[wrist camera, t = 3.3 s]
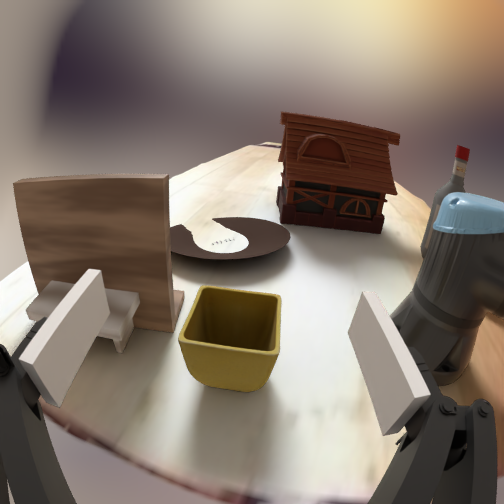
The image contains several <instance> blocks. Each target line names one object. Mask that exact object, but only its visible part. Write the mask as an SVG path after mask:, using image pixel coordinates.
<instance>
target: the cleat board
mask: <svg viewBox="0 0 504 504" xmlns="http://www.w3.org/2000/svg"><path fill="white" fill-rule="evenodd" d="M13 186H14V194H15V200H16V207H17V212H18V217H19V223H20V227H21V232H22V237H23V241H24V246H25V249H26V254H27V257H28V261H29V265H30V268H31V272H32V275H33V278H34V281H35V284H36V288H37V291H38V294H39V295H38V296H37V297H36V298H35V299H34V301H33V302H32V303H31V304H30V305H29V306H28V308H27V309H26V312H27V315H28V317H29V319H30V320H34V321H37V322H38V321H39V320H41V319H42V318H43V317H47V318H48V317H49V316H50V315H51V314H52V312H53V311H54V310H55V308H56V307H57V306H58V305H59V303H60V302H61V301H62V300H63V299H64V297H65V296H66V295H67V294H68V292H69V291H70V290H71V289H72V288H73V286H74V285H75V284H76V283H77V282H78V281H79V279H80V278H81V277H82V276H83V275H84V274H85V273H86V271H87V270H88V269H95V270H101V273H102V278H103V283H104V288H105V293H106V297H107V302H108V306H109V310H110V314H109V316H108V318H107V319H106V321H105V323H104V324H103V326H102V328H101V330H100V331H99V333H98V335H97V336H99V337H104V338H109V339H113V342H114V345H115V348H116V351H117V352H118V353H123V351H124V349H125V346H126V344H127V342H128V340H129V338H130V335H131V333H132V331H133V329H134V327H135V328H142V329H149V330H156V331H164V332H172V333H173V332H174V329H175V326H176V322H177V319H178V316H179V313H180V310H181V307H182V304H183V300H184V291H179V290H173V279H172V264H171V246H170V220H169V175H168V174H98V175H97V174H96V175H73V176H72V175H71V176H54V177H40V178H29V179H21V180H19V181H17V182H15V183H13Z"/></svg>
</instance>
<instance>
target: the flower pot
mask: <svg viewBox="0 0 504 504" xmlns="http://www.w3.org/2000/svg"><path fill="white" fill-rule="evenodd" d="M280 324H281V297H280V295H276V294H270V293H261V292H252V291H244V290H236V289H229V288H222V287H215V286H201V287H200V288H199V290H198V293H197V295H196V298H195V300H194V303H193V306H192V308H191V310H190V313H189V315H188V317H187V319H186V321H185V323H184V325H183V328H182V330H181V332H180V334H179V337H178V341H179V344H180V347H181V351H182V354H183V357H184V360H185V363H186V366H187V368H188V371H189V372H190V374H191V375H192V376H193V377H194V378H195V379H196V380H197V381H199V382H201V383H202V384H205V385H207V386H210V387H216V388H222V389H229V390H235V391H242V392H251V391H255V390H258V389H260V388H261V387H262V386H263V385H264V384H265V383H266V382H267V380H268V379H269V376H270V374H271V372H272V369H273V367H274V365H275V362H276V360H277V357H278V355H279V352H280Z"/></svg>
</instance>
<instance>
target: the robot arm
mask: <svg viewBox="0 0 504 504" xmlns="http://www.w3.org/2000/svg"><path fill="white" fill-rule="evenodd" d="M487 312H490V313H492V314H494V315H496V316H498V317H499V318H501V319H503V320H504V203H503V202H500V201H497V200H494V199H491V198H487V197H483V196H479V195H474V194H469V193H462V192H454V193H450V194H448V195H447V196H446V197H445V198H444V199H443V201H442V203H441V206H440V210H439V213H438V216H437V219H436V221H435V222H434V224H433V232H432V236H431V239H430V242H429V245H428V248H427V252H426V255H425V257H424V260H423V263H422V266H421V269H420V271H419V274H418V276H417V279H416V282H415V284H414V287H413V289H412V291H411V292H410V294H409V295H408V296H407V297H406V298H405V299H404V301H403V302H402V303H401V304H400V305H399V306H398V307H397V308H396V310H395V311H394V312H393V313H392V314H391V315H390V316H389V314H388V312H387V311H386V309H385V307H384V306H383V304H382V302H381V300H380V299H379V297H378V295H377V294H376V292H362V294H361V297H360V300H359V303H358V306H357V309H356V312H355V314H354V317H353V320H352V323H351V325H350V328H349V331H348V335H349V338H350V340H351V343H352V346H353V348H354V351H355V354H356V357H357V359H358V362H359V365H360V368H361V371H362V374H363V376H364V379H365V382H366V385H367V388H368V391H369V394H370V397H371V400H372V403H373V406H374V409H375V412H376V416H377V419H378V422H379V425H380V428H381V432H382V435H383V436H385V435H390V434H395V433H398V432H399V431H400V430H401V429H402V428H403V427H404V426H405V427H406V430H407V432H406V433H405V434H404V435H403V436H402V437H401V438H400V439H399V440H398V441H397V443H396V445H398V444H399V443H400V442H401V443H400V445H399V447H398V449H397V451H396V453H395V455H394V457H393V459H392V461H391V463H390V465H389V467H388V469H387V471H386V473H385V475H384V476H383V478H382V480H381V482H380V484H379V485H378V487H377V489H376V491H375V492H374V494H373V496H372V497H371V499H370V500H369V502H368V504H430V503H431V500H432V498H433V500H432V504H496V493H497V492H496V491H497V441H496V428H495V418H494V411H493V407H492V406H491V404H490V403H489V402H488V401H486V400H484V399H477V400H476V401H474V403H473V404H472V405H471V406H459V405H457V403H456V402H455V401H454V400H453V399H452V398H450V397H447V396H443V395H442V394H441V392H440V390H439V388H438V386H443V385H448V384H450V383H452V382H454V381H456V380H457V379H458V378H459V377H460V376H461V374H462V373H463V371H464V370H465V369H466V367H467V366H468V364H469V361H470V359H471V355H472V352H473V348H474V345H475V341H476V337H477V333H478V329H479V326H480V324H481V322H482V321H483V319H484V317H485V315H486V314H487ZM109 314H110V310H109V306H108V302H107V297H106V293H105V288H104V283H103V278H102V273H101V270H95V269H88V270H87V271H86V273H85V274H84V275H83V276H82V277H81V278H80V279H79V281H78V282H77V283H76V284H75V285H74V286H73V288H72V289H71V290H70V291H69V292H68V294H67V295H66V296H65V297H64V299H63V300H62V301H61V302H60V303H59V305H58V306H57V307H56V308H55V310H54V311H53V312H52V314H51V315H50V316H49V317H48V318H47V317H43V318H42V319H41V320H39V321H38V322H36V324H35V325H34V326H33V327H32V329H31V330H30V332H29V333H28V334H27V335H26V338H24V339H23V341H22V342H21V344H20V345H19V346H18V348H17V349H16V351H15V352H14V353H13V355H12V356H11V357H10V355H9V353H8V351H7V350H6V348H5V347H4V346H3V345H2V344H0V504H10V501H9V493H8V484H7V480H8V483H9V487H10V490H11V493H12V496H13V499H14V502H15V504H77V503H76V502H75V499H74V497H73V495H72V493H71V491H70V489H69V487H68V484H67V482H66V480H65V477H64V475H63V473H62V470H61V468H60V465H59V462H58V460H57V457H56V455H55V452H54V449H53V446H52V443H51V440H50V437H49V434H48V430H47V427H46V423H45V420H44V416H43V412H42V408H41V404H40V402H39V400H38V399H39V397H40V395H41V396H42V397H43V399H44V400H45V401H46V403H49V404H51V405H54V406H56V407H59V408H60V406H61V404H62V402H63V400H64V398H65V396H66V394H67V392H68V390H69V387H70V385H71V383H72V381H73V379H74V378H75V376H76V374H77V372H78V370H79V368H80V366H81V364H82V362H83V360H84V358H85V357H86V355H87V353H88V351H89V349H90V347H91V346H92V344H93V342H94V340H95V338H96V337H97V335H98V333H99V331H100V330H101V328H102V326H103V324H104V323H105V321H106V319H107V318H108V316H109ZM466 444H467V448H466Z"/></svg>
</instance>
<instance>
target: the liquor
mask: <svg viewBox="0 0 504 504" xmlns="http://www.w3.org/2000/svg"><path fill="white" fill-rule="evenodd" d="M469 151H470V150H469V149H467V148H465V147H462V146H459V145H457V149H456V155H455V157H456V159H455V163H454V168H453V173H452V177H451V178H450V182H448V183H447V184H445V185H444V186H443V187H441V188H440V189H438V190H437V192H436V194H435V197H434V201H433V205H432V209H431V213H430V217H429V220H428V224H427V227H426V231H425V234H424V237H423V241H422V244H421V252H422V257H423V258H424V257H425V255H426V252H427V248H428V245H429V242H430V239H431V236H432V232H433V224H434V222H435V221H436V219H437V216H438V213H439V210H440V206H441V203H442V201H443V199H444V198H445V197H446V196H447V195H448V194H450V193H454V192H462V193H465V190H464V188H463V185H464V182H463V181H464V176H465V170H466V165H467V161H468V157H469Z"/></svg>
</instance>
